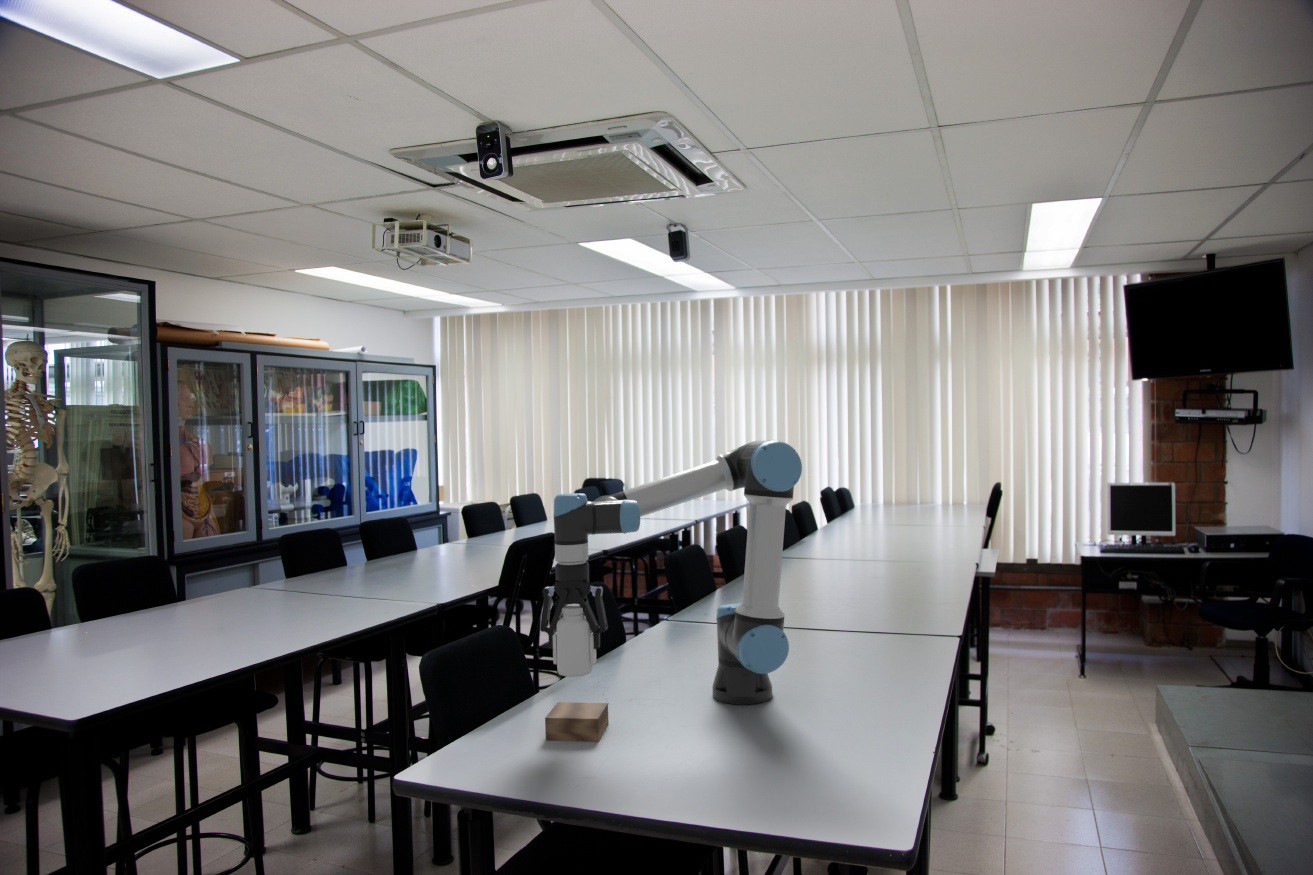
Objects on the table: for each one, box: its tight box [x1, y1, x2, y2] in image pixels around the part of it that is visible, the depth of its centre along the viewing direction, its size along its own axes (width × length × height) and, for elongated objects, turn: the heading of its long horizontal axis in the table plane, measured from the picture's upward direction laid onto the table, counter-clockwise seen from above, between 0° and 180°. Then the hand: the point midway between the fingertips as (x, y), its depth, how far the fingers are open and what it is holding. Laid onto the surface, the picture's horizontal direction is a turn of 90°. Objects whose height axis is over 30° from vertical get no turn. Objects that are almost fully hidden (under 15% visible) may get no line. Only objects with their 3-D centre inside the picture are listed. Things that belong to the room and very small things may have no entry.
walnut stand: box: [544, 701, 609, 743], centre depth 172 cm, size 12×10×5 cm
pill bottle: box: [556, 603, 593, 678], centre depth 172 cm, size 8×8×15 cm
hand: (575, 662), depth 172 cm, fingers closed on pill bottle, 8 cm apart
